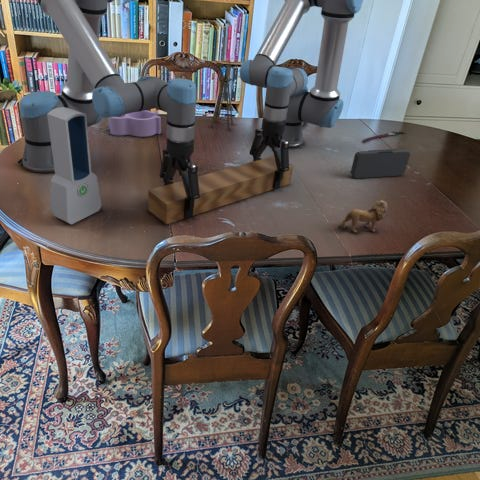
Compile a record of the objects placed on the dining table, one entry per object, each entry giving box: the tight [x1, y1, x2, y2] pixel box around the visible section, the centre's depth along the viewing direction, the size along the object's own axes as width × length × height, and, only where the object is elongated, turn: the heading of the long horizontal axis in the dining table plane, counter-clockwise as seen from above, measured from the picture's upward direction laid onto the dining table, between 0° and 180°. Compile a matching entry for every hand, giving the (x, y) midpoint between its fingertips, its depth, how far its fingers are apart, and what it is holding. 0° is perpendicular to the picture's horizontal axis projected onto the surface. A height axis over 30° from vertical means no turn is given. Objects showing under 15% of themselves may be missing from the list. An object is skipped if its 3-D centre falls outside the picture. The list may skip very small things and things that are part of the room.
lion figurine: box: [339, 199, 388, 234], centre depth 139 cm, size 15×5×9 cm, turn 110°
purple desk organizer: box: [108, 110, 162, 138], centre depth 190 cm, size 20×12×7 cm, turn 109°
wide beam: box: [147, 155, 294, 225], centre depth 149 cm, size 51×10×7 cm, turn 131°
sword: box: [363, 130, 404, 143], centre depth 215 cm, size 31×3×1 cm, turn 126°
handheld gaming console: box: [350, 148, 411, 179], centre depth 174 cm, size 23×3×10 cm, turn 108°
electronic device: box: [47, 107, 102, 225], centre depth 126 cm, size 12×8×30 cm, turn 148°
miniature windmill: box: [210, 54, 234, 130], centre depth 200 cm, size 9×8×30 cm
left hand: (178, 209), depth 140 cm, fingers closed on wide beam, 10 cm apart
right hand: (265, 181), depth 161 cm, fingers closed on wide beam, 10 cm apart
